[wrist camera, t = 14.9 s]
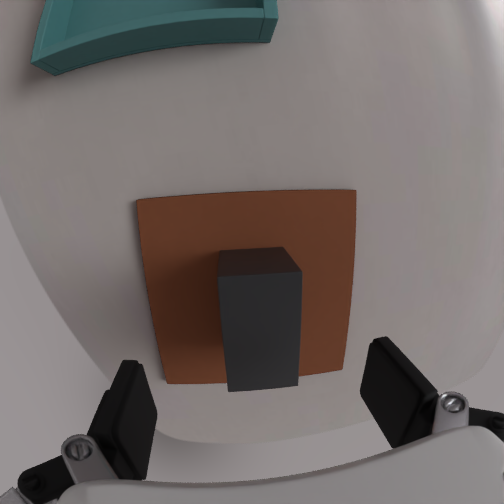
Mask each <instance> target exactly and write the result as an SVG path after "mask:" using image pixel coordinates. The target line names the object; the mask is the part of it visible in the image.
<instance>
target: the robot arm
mask: <svg viewBox="0 0 504 504" xmlns="http://www.w3.org/2000/svg"><path fill="white" fill-rule="evenodd" d="M360 394H361V397H362V399H363V400H364V402H365V404H366V405H367V407H368V409H369V410H370V412H371V414H372V415H373V417H374V419H375V420H376V422H377V424H378V425H379V427H380V429H381V430H382V432H383V433H384V436H385V437H386V439H387V441H388V442H389V444H390V445H391V447H392V448H395V449H392V450H389V451H386V452H383V453H380V454H377V455H374V456H371V457H367V458H364V459H361V460H357V461H354V462H351V463H346V464H343V465H339V466H335V467H331V468H326V469H322V470H317V471H312V472H307V473H302V474H296V475H290V476H284V477H277V478H269V479H260V480H250V481H238V482H221V483H220V482H219V483H177V482H176V483H175V482H154V481H142V480H145V479H146V476H147V470H148V464H149V458H150V452H151V447H152V442H153V436H154V431H155V426H156V421H157V409H156V406H155V403H154V400H153V397H152V394H151V391H150V388H149V385H148V381H147V378H146V375H145V371H144V368H143V365H142V364H139V363H138V361H137V360H123V361H122V363H121V365H120V367H119V370H118V372H117V374H116V376H115V378H114V381H113V383H112V385H111V388H110V390H106V391H105V393H104V395H103V397H102V400H101V402H100V404H99V406H98V409H97V411H96V413H95V416H94V418H93V421H92V423H91V425H90V428H89V430H88V433H87V435H84V434H78V435H73V436H71V437H69V438H67V439H66V440H65V441H64V442H63V444H62V446H61V454H62V455H60V456H58V457H56V458H54V459H51V460H49V461H47V462H45V463H42V464H40V465H37V466H35V467H32V468H30V469H27V470H25V471H24V472H23V473H22V474H21V475H20V477H19V479H18V487H17V488H16V489H14V488H13V487H12V488H11V489H9V490H8V491H7V492H5V493H4V494H3V495H2V496H0V504H504V414H503V413H499V412H493V411H487V410H481V409H475V408H470V407H469V403H468V400H467V399H466V398H465V397H464V396H463V395H461V394H460V393H457V392H445V393H443V394H441V395H440V396H439V395H438V393H437V390H436V389H435V387H434V386H433V385H432V384H431V383H430V382H429V381H428V380H427V379H426V377H425V376H424V375H423V374H422V373H421V372H420V371H419V370H418V369H417V368H416V367H415V365H414V364H413V363H412V362H411V361H410V360H409V359H408V358H407V357H406V356H405V355H404V354H403V353H402V352H401V350H400V349H399V348H398V347H397V346H396V345H395V344H394V343H393V342H392V341H391V340H390V339H389V338H388V337H386V336H385V337H380V338H376V339H374V340H373V342H372V343H370V345H369V350H368V355H367V360H366V365H365V370H364V374H363V379H362V383H361V387H360Z"/></svg>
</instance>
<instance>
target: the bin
mask: <svg viewBox="0 0 504 504" xmlns="http://www.w3.org/2000/svg"><path fill="white" fill-rule="evenodd" d="M277 21H278V8H277V0H46V2H45V5H44V9H43V12H42V15H41V19H40V22H39V26H38V30H37V34H36V38H35V42H34V47H33V52H32V57H31V62H30V63H31V64H33V65H35V66H37V67H39V68H41V69H43V70H45V71H47V72H49V73H51V74H52V75H54V76H56V75H59V74H61V73H64V72H67V71H70V70H73V69H76V68H80V67H83V66H86V65H90V64H93V63H97V62H100V61H104V60H108V59H112V58H117V57H121V56H125V55H130V54H135V53H140V52H146V51H151V50H157V49H164V48H171V47H179V46H188V45H198V44H212V43H233V42H266V43H269V42H270V41H271V38H272V35H273V32H274V29H275V27H276V24H277Z"/></svg>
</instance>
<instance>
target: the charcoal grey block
mask: <svg viewBox="0 0 504 504" xmlns="http://www.w3.org/2000/svg"><path fill="white" fill-rule="evenodd" d="M302 284H303V272H302V270H301V269H300V268H299V266H298V265H297V264H296V263H295V261H294V260H293V259H292V257H291V256H290V255H289V254H288V252H287V251H286V250H285V248H284V247H270V248H252V249H234V250H220V251H219V261H218V272H217V285H218V297H219V308H220V319H221V329H222V340H223V349H224V359H225V368H226V377H227V386H228V392H237V391H251V390H263V389H273V388H283V387H291V386H298V378H299V361H300V342H301V318H302Z"/></svg>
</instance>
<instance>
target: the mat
mask: <svg viewBox="0 0 504 504" xmlns="http://www.w3.org/2000/svg"><path fill="white" fill-rule="evenodd" d="M136 202H137V214H138V224H139V234H140V242H141V250H142V258H143V265H144V272H145V279H146V285H147V291H148V297H149V303H150V308H151V314H152V319H153V324H154V329H155V334H156V339H157V343H158V348H159V352H160V357H161V361H162V365H163V369H164V373H165V377H166V381H167V384H211V383H227V377H226V368H225V359H224V349H223V340H222V329H221V319H220V308H219V297H218V285H217V272H218V261H219V251H220V250H234V249H252V248H270V247H284V248H285V250H286V251H287V252H288V254H289V255H290V256H291V257H292V259H293V260H294V261H295V263H296V264H297V265H298V266H299V268H300V269H301V270H302V272H303V284H302V318H301V342H300V361H299V376H305V375H312V374H319V373H325V372H332V371H337V370H342V368H343V362H344V355H345V348H346V341H347V333H348V325H349V316H350V307H351V296H352V285H353V271H354V255H355V233H356V190H274V191H247V192H226V193H210V194H195V195H181V196H169V197H158V198H148V199H138V200H136Z"/></svg>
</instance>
